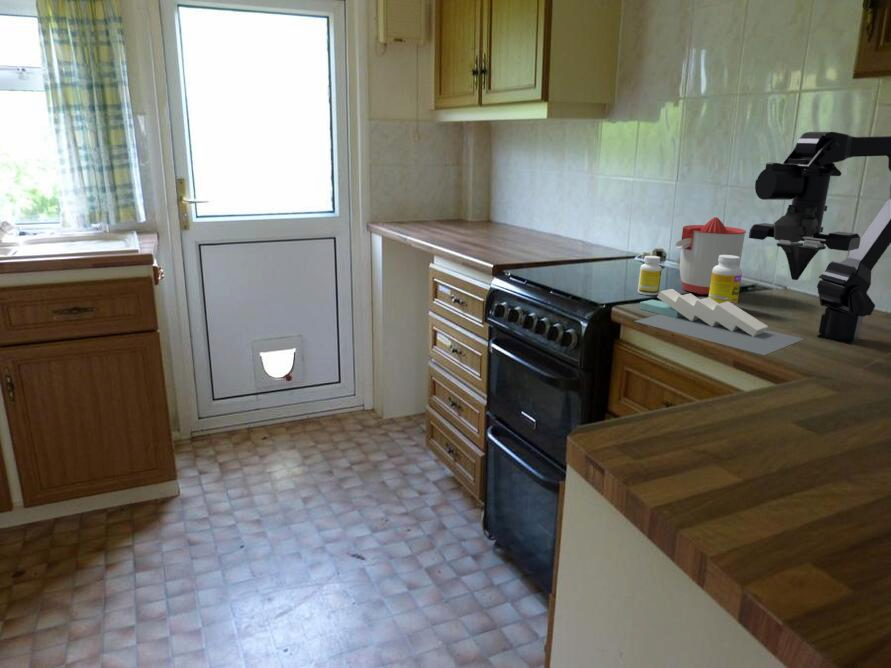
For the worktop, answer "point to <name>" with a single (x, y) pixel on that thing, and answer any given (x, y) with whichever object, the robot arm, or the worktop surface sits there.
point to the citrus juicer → (706, 252)
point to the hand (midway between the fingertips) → (794, 279)
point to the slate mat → (723, 334)
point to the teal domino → (659, 308)
